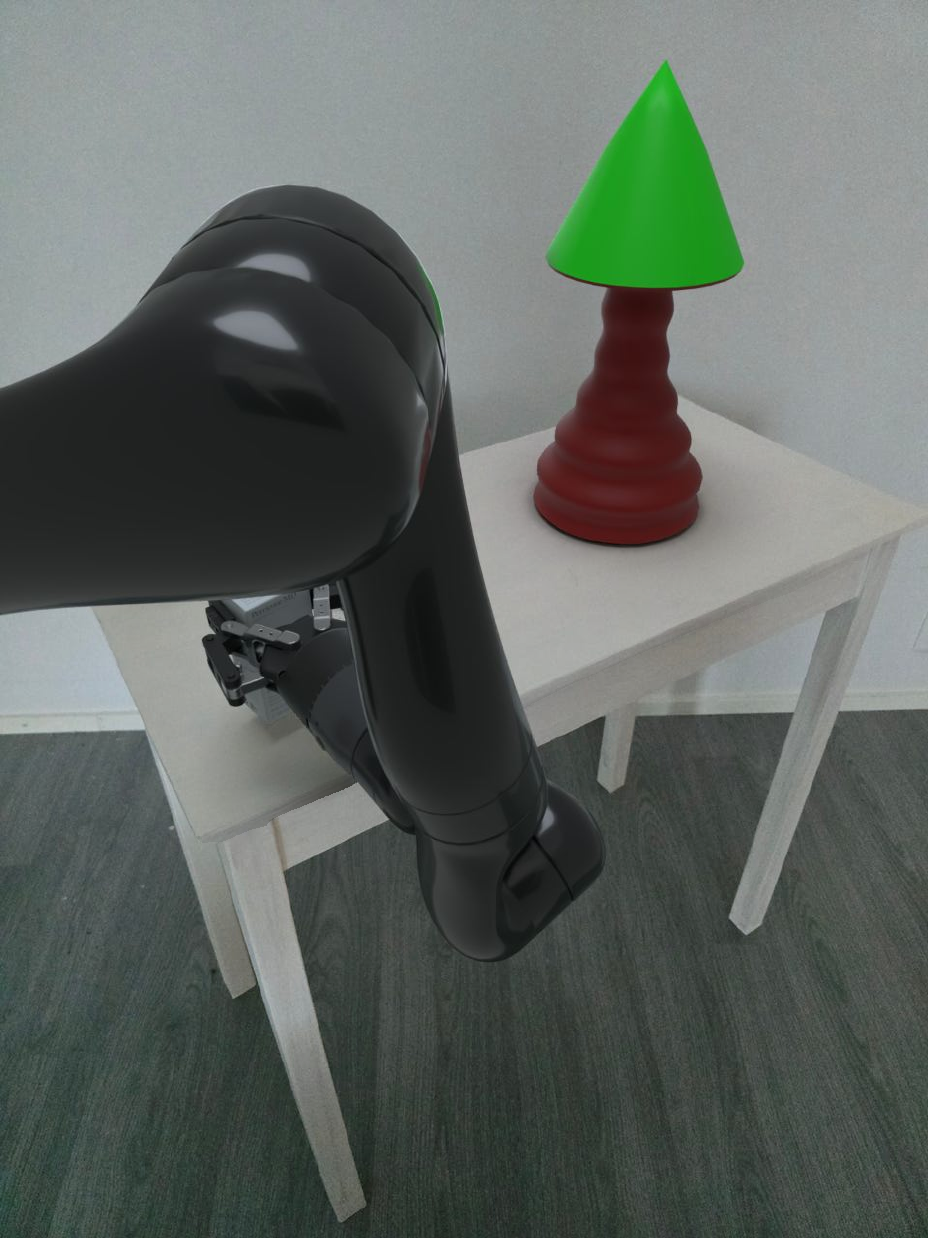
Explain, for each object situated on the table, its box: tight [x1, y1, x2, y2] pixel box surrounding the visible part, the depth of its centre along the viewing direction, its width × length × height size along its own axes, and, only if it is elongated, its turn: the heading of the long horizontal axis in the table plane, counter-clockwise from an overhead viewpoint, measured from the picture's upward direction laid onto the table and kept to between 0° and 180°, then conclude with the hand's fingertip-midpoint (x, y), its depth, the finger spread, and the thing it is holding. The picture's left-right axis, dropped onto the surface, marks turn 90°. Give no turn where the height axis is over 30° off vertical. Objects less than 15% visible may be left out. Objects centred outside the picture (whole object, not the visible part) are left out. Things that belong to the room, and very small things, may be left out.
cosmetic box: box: [220, 590, 314, 726], centre depth 69 cm, size 6×4×12 cm
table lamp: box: [532, 59, 745, 545], centre depth 87 cm, size 20×20×45 cm
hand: (253, 591), depth 68 cm, fingers closed on cosmetic box, 6 cm apart
